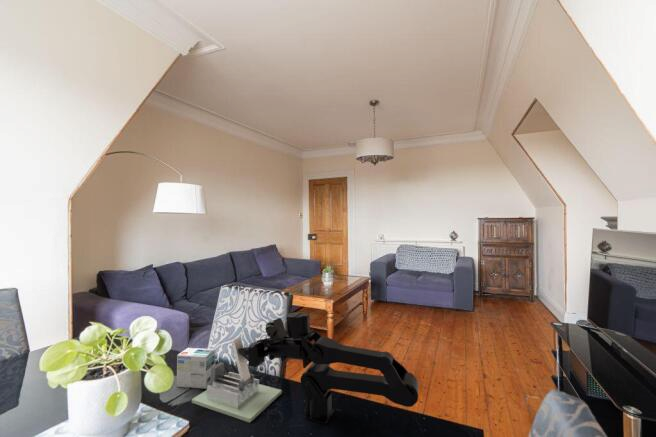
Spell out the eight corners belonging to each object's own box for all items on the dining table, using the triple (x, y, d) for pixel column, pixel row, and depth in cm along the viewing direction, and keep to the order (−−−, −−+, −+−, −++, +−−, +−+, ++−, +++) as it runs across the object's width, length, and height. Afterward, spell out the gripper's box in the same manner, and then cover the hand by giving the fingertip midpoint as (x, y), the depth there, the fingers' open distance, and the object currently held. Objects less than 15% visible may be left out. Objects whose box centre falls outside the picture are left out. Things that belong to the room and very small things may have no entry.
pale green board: (281, 393, 97) (281, 390, 97) (249, 422, 82) (250, 418, 82) (228, 378, 105) (228, 375, 105) (191, 402, 91) (191, 399, 91)
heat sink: (258, 391, 95) (259, 366, 96) (237, 409, 86) (238, 380, 86) (226, 382, 101) (226, 358, 101) (203, 398, 92) (203, 371, 92)
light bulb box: (215, 379, 105) (216, 348, 105) (206, 389, 98) (206, 356, 99) (186, 377, 106) (187, 346, 106) (175, 387, 99) (176, 354, 100)
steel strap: (248, 382, 93) (252, 382, 92) (241, 387, 90) (246, 386, 89) (237, 338, 95) (241, 337, 94) (230, 341, 92) (234, 340, 92)
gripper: (303, 315, 99) (264, 314, 105) (272, 327, 82) (227, 326, 88) (305, 350, 97) (265, 347, 103) (273, 370, 80) (227, 366, 86)
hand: (248, 346), depth 95 cm, fingers open, 9 cm apart
